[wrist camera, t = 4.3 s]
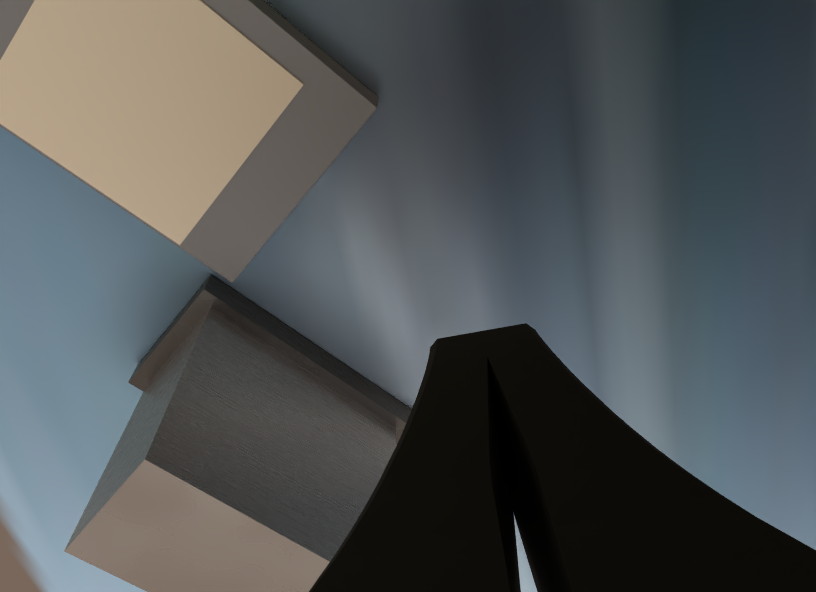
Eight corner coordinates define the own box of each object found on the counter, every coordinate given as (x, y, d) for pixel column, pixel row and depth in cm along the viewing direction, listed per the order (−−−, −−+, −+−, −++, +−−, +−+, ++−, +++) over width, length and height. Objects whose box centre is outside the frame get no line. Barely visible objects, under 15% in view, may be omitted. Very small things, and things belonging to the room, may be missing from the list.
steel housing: (412, 410, 21) (422, 600, 15) (335, 484, 22) (318, 685, 16) (210, 274, 18) (133, 438, 13) (137, 365, 20) (37, 550, 14)
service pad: (377, 96, 16) (377, 109, 15) (239, 264, 18) (231, 284, 17) (76, -158, 14) (52, -162, 13) (-47, 67, 16) (-75, 78, 15)
